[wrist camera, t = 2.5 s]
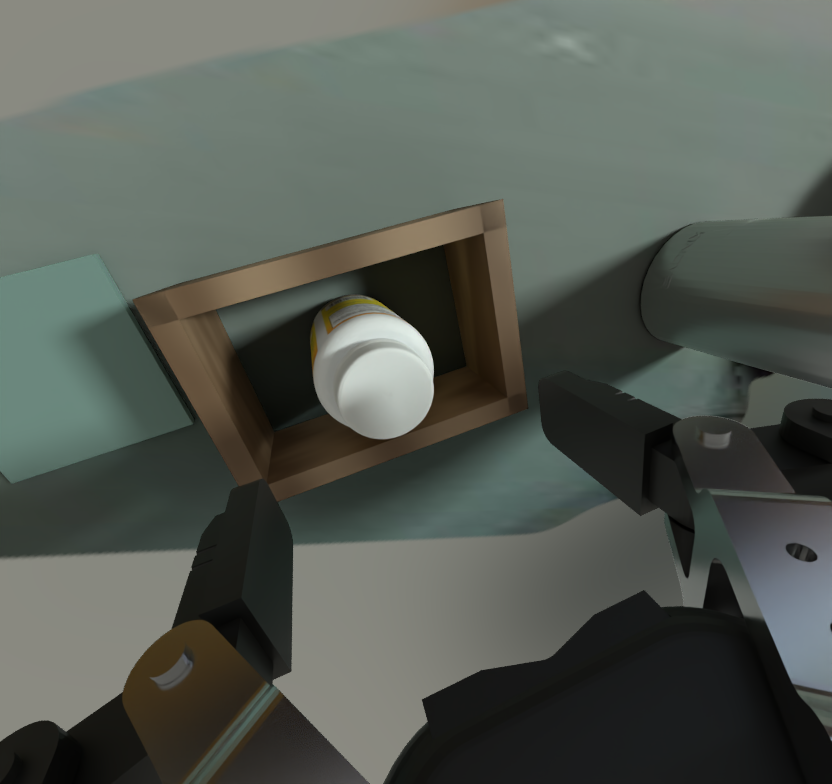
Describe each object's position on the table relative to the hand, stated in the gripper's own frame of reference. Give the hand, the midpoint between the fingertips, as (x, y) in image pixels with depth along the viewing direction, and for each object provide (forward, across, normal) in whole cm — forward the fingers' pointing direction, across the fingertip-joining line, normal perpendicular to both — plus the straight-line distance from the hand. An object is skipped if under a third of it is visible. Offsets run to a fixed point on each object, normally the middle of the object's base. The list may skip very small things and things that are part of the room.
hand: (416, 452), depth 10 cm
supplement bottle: (+15, 0, 0) cm, 15 cm away
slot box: (+15, 0, 0) cm, 15 cm away
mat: (+15, +16, -2) cm, 22 cm away
